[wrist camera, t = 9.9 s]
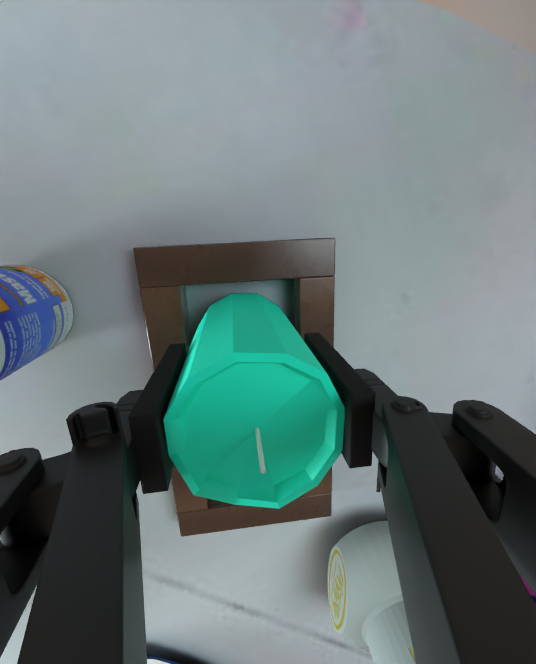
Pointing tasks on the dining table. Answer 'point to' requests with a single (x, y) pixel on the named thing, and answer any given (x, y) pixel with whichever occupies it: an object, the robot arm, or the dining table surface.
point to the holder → (173, 328)
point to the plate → (158, 660)
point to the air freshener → (369, 595)
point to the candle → (252, 408)
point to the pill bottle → (30, 316)
